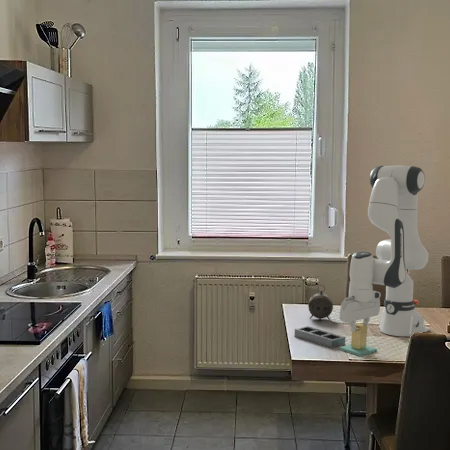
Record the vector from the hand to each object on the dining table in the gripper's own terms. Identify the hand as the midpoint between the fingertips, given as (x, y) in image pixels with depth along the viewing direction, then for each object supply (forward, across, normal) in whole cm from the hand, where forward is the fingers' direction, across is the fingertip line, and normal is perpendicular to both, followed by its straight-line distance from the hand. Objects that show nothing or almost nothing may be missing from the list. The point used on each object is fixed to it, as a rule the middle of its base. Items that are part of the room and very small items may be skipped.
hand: (359, 330), depth 246 cm
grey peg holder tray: (+8, -2, +18) cm, 20 cm away
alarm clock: (+8, +22, +39) cm, 45 cm away
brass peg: (+7, 0, 0) cm, 7 cm away
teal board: (+8, 0, 0) cm, 8 cm away
